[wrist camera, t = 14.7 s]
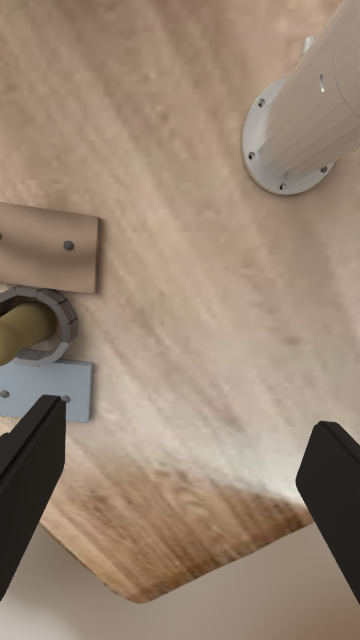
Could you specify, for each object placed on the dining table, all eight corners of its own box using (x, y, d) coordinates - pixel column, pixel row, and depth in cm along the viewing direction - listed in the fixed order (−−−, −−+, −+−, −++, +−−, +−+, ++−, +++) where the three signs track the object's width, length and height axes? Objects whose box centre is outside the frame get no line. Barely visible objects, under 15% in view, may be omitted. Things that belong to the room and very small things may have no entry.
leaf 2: (-20, 323, 36) (-36, 329, 33) (94, 335, 37) (88, 343, 34) (-13, 409, 39) (-27, 422, 37) (90, 417, 41) (84, 430, 38)
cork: (49, 346, 37) (3, 384, 27) (8, 330, 36) (-56, 364, 26) (62, 310, 36) (19, 336, 25) (20, 293, 35) (-44, 312, 24)
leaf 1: (-29, 198, 31) (-49, 193, 28) (100, 218, 33) (93, 215, 30) (-20, 325, 36) (-36, 331, 33) (94, 337, 37) (88, 344, 34)
